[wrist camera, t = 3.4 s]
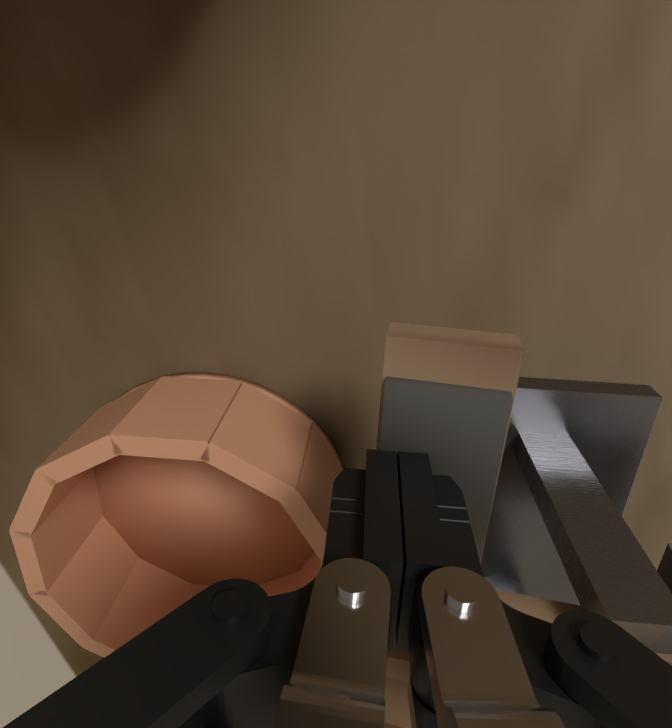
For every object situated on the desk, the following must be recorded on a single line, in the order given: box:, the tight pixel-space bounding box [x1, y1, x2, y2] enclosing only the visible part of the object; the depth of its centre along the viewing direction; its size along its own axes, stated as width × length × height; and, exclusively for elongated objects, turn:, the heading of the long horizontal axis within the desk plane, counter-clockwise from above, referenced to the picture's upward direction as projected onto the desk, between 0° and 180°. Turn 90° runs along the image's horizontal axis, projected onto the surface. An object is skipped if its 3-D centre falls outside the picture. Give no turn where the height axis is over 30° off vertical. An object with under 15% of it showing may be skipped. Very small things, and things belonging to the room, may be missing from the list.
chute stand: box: [480, 377, 672, 654], centre depth 19 cm, size 14×8×10 cm, turn 178°
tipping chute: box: [377, 322, 672, 728], centre depth 15 cm, size 15×13×7 cm
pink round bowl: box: [9, 372, 344, 658], centre depth 21 cm, size 13×13×5 cm
